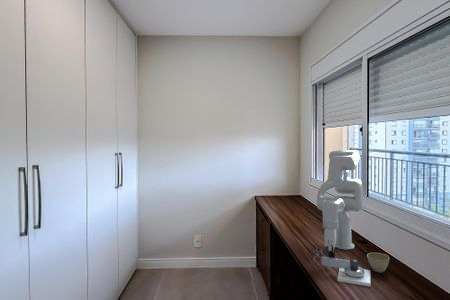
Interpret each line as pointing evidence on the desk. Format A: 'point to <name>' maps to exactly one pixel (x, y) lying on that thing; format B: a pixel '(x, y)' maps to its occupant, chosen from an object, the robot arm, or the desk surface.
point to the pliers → (319, 253)
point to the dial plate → (360, 281)
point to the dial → (345, 266)
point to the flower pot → (378, 261)
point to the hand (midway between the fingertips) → (331, 258)
